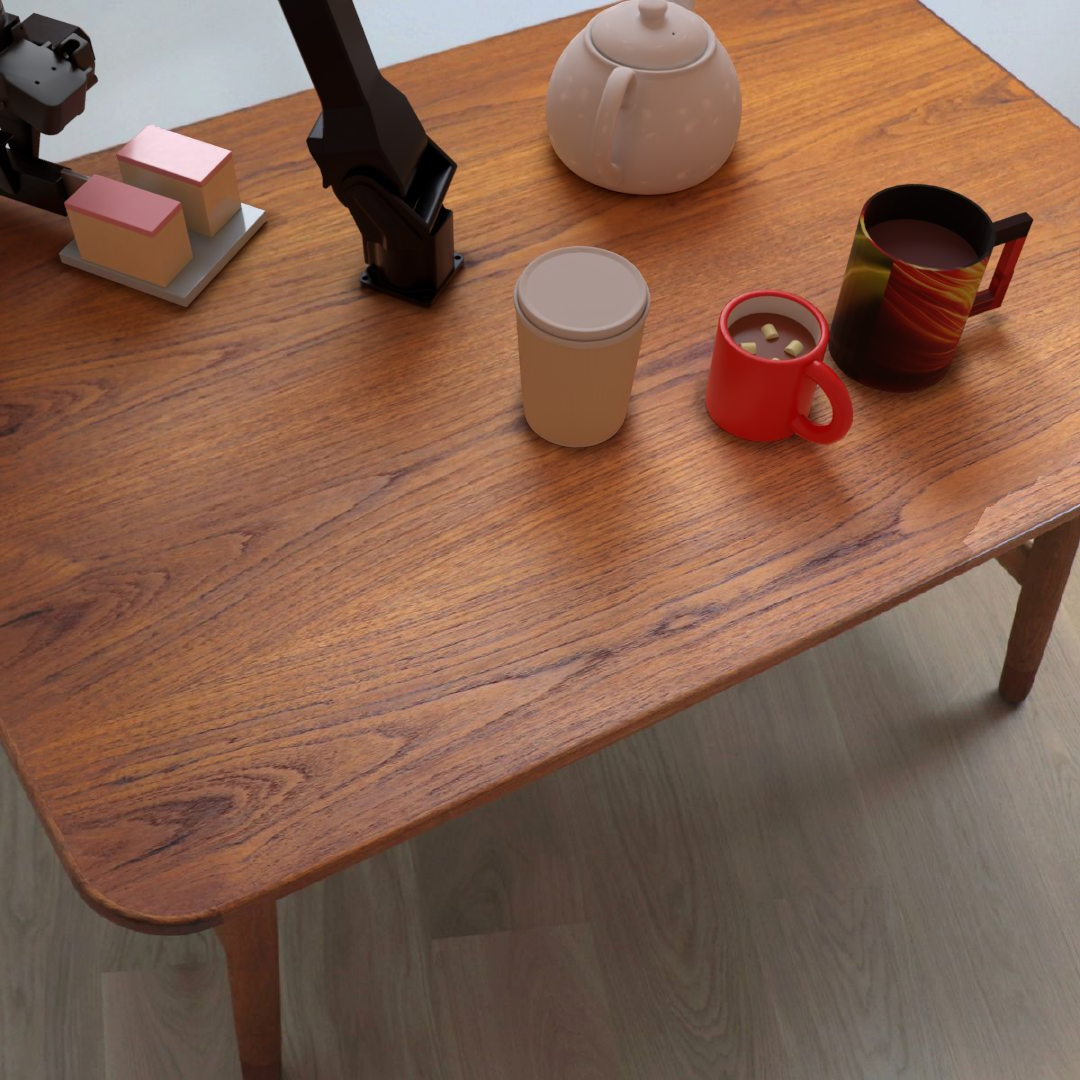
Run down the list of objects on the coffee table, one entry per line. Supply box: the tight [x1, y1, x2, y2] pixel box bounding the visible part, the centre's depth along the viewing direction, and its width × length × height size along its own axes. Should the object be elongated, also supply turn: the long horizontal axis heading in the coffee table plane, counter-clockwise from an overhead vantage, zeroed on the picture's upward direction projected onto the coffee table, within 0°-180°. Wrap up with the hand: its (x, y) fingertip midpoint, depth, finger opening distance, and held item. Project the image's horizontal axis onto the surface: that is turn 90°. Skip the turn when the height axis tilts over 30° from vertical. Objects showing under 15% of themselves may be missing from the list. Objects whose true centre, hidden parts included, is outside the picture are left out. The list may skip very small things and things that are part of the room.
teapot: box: [545, 0, 743, 196], centre depth 116 cm, size 19×18×14 cm
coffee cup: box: [513, 245, 651, 448], centre depth 97 cm, size 9×9×12 cm
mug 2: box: [827, 183, 1034, 393], centre depth 103 cm, size 10×14×12 cm
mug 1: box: [704, 289, 854, 446], centre depth 99 cm, size 8×12×8 cm, turn 43°
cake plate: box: [58, 123, 268, 308], centre depth 110 cm, size 12×12×7 cm
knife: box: [0, 147, 92, 218], centre depth 110 cm, size 21×2×4 cm, turn 66°
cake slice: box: [64, 173, 193, 288], centre depth 107 cm, size 8×4×6 cm, turn 66°
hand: (21, 183), depth 112 cm, fingers closed on knife, 2 cm apart
